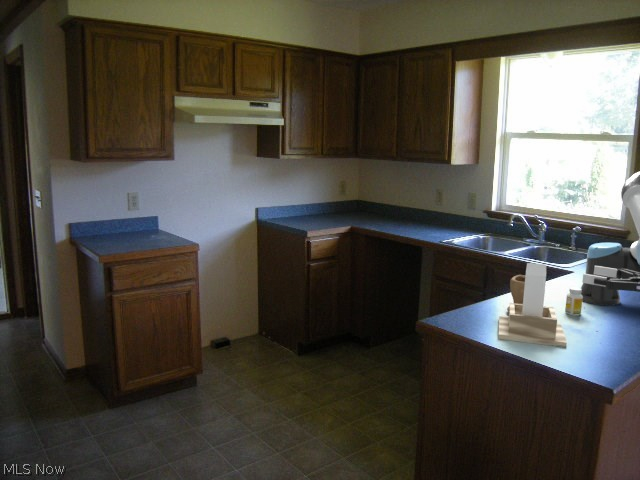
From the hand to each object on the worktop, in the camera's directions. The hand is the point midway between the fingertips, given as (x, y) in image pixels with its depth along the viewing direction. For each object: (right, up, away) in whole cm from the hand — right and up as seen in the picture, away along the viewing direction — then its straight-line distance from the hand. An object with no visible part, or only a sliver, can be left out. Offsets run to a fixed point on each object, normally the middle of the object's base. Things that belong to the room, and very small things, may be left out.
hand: (588, 273), depth 171 cm
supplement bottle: (+9, -17, +30) cm, 36 cm away
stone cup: (-9, -17, +27) cm, 33 cm away
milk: (-15, -19, +9) cm, 26 cm away
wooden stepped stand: (-15, -20, +9) cm, 27 cm away
